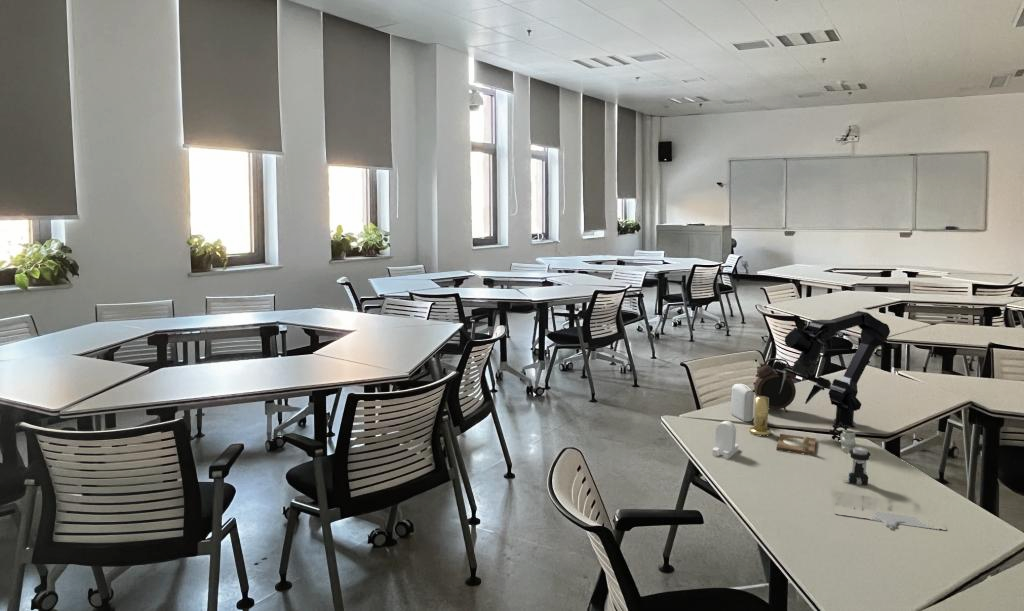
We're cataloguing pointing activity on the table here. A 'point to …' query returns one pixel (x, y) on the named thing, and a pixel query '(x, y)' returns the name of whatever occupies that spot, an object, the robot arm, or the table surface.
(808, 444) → the base plate
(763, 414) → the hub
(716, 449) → the white phone stand
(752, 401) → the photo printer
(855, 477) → the black white upright piece
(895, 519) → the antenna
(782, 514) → the table surface
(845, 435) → the valve
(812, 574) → the table surface
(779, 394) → the alarm clock
